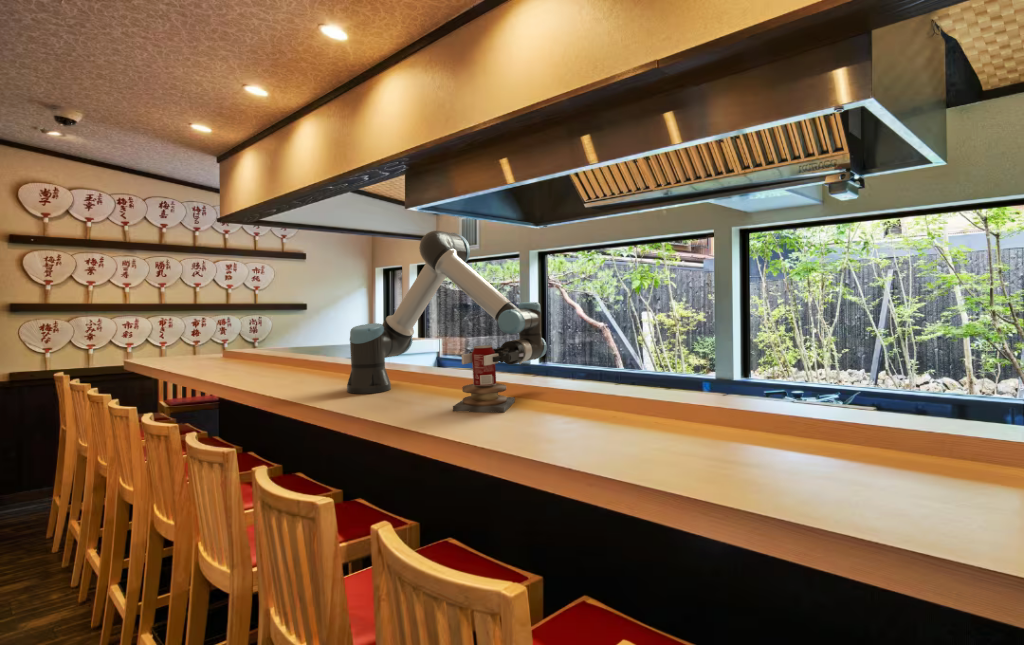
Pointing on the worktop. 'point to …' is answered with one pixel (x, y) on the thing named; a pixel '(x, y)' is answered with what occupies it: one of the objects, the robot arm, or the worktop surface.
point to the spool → (484, 399)
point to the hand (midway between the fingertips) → (473, 360)
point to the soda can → (483, 367)
